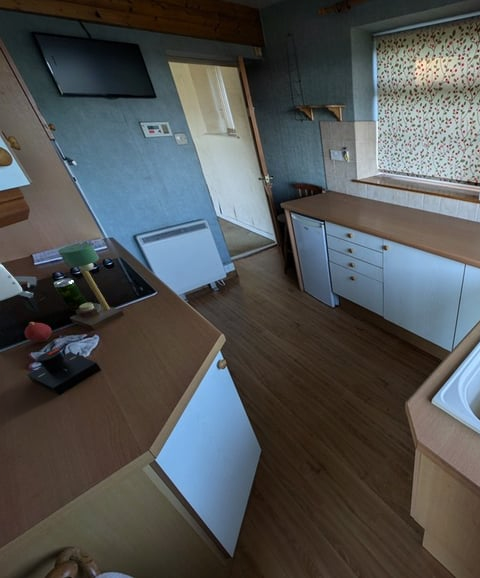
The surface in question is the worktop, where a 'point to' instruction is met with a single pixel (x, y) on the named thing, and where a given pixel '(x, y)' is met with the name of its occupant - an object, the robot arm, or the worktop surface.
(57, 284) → the beer can
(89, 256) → the lamp
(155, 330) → the worktop surface
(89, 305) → the lamp switch
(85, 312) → the lamp base
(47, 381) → the dimmer
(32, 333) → the onion
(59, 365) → the dimmer knob
